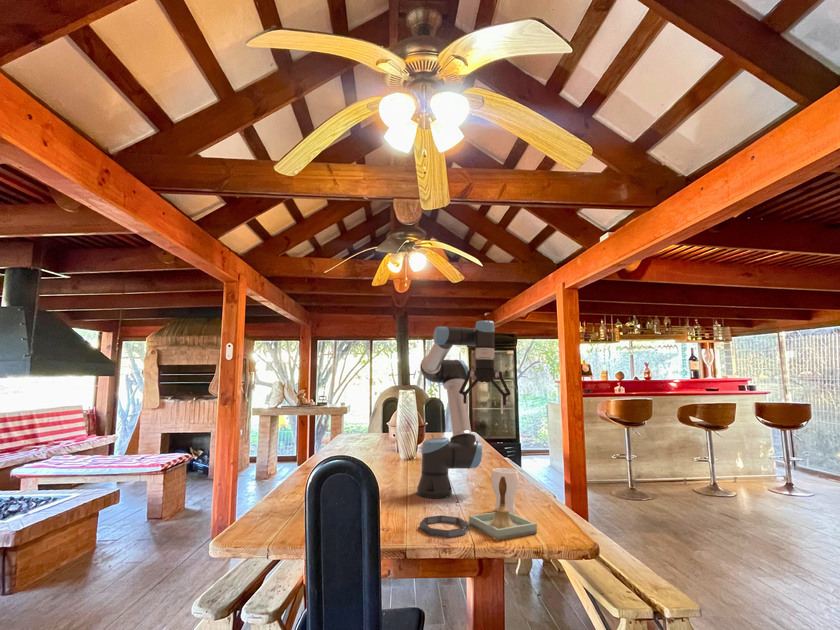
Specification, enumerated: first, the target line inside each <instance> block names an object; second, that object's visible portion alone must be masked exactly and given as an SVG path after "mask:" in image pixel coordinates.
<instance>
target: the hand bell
mask: <svg viewBox="0 0 840 630" xmlns="http://www.w3.org/2000/svg"><path fill="white" fill-rule="evenodd" d="M506 489H507V484H506V480H505V477H501V479H500V482H499V492H500V506H499V507H498V508H496V511H495V510H494V512H495V516H494V519H493V520H492V521H491V522H490V525H492V526H494V527H496V528H498V529H501V528H507V527H513V526H514V524H513V523H512V521H511V519H510V515H509V510H508V509H507V508H506V507H505V494H506Z"/></svg>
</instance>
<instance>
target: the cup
mask: <svg viewBox="0 0 840 630" xmlns="http://www.w3.org/2000/svg"><path fill="white" fill-rule="evenodd" d="M501 477H505V480H506V484H507V489H506V494H505V507H506V508H507V509H508V510H509V512H511V513H513V514H516V506H515V497H516V493H517V492H518V489H519V485H520V477H519V472H518V470H516V469H513V468H508V467H507V468H506V467H498V468H497V467H495V468H493V469H492V471H491V475H490V480H491V481H490V482H491V486H492V489H493V492H494V494H495V504H494V505H495V506H494V512H495V511H496V508H498V507H499V506H500V492H499V482H500V479H501Z"/></svg>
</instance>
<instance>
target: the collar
mask: <svg viewBox="0 0 840 630" xmlns="http://www.w3.org/2000/svg"><path fill="white" fill-rule="evenodd" d="M434 523H447V524H455V525H458V526H460V527H459V528H454V529H449V530H448V529H442V528H441V529H439V528H433V527H430V526H429V525H430V524H434ZM469 528H470V525H469V521H466V520H464V519H463V518H460V517H458V516H457V517H456V516H449V515H434V516H427V517H424V518H423V519H422V520H421V521H420V523H419V530H421V531H422V532H424V533H425V534H426V535H428V536H432V537H433V536H434V537H441V538H454V537H460V536H465V535H466V534H467V532H468V531H469Z"/></svg>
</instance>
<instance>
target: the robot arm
mask: <svg viewBox="0 0 840 630" xmlns="http://www.w3.org/2000/svg"><path fill="white" fill-rule="evenodd" d="M495 330H496V329H495V323H494V321H493V320H478V321H476V322H475V326H474V327H456V326H455V327H453V326H446V325H444V326H436V327H435V328H434V330H433V344H432V346H431V348H430V350H429V352H428V354H427V355H426V356H424V357H423V359H422V360H421V362H420V366H419V370H420V372H421V375H422V376H423V377H424V378H425V379H426V380H427V381H429V382H431V383H436V384H440V383H441V384H442V385H443V388H444V389H445V390H446V391H447V402H448V408H449V415H450V424H451V431H452V436H451V437H450V439H449V438H448V437H433V438H429V439H425V440H424V441H423V442H422V446H421V475H420V479H419V482H418V485H417V487H416V488H417V489H416V494H417V495H418V496H419V497H422V498H427V499H444V498H445V499H446V498H449V496H450V497H451V496H452V495H453V494H452V493H453V491H452V490H453V489H452V485H451V482H450V478H449V469H452V470H453V469H454V470H455V469H457V470H458V469H464V470H465V469H469V470H470V469H477V468H478V467H479V466H480V465H481V462H482V458H483V445H482V443H481V441H480V440H477V439H476V435H475V434H474V433H472V428H471V422H470V416H469V412H470V409H469V406H470V401H469V400H470V395H468V394H469V393H470V392H471V391H472V390H473V388H474V387H475V386H476V385H477V384H478V383H490V382H491V384H492V385H493V386H494V387H495V389H497V391H498V392H499V393H500V395H501V396H500V414H501V415H503V414H504V406H506V405H507V397H508V396H510V395H511V392H510V391H511V390H510V389H509V388H508V385H507V384H506V381H505V379H504V377H503V372H502V371H495V360H494V359H495ZM453 346H467V347H468V346H469V347H475V356H474V357H475V358H476V359H475V364H474V365H475V367H474V368H475V370H474V371H472V370H469V366H468V364H467V363H466V362H465V361H464V360H460V359H446V356H447V355H448V353H449V352H450V350H451V348H452V347H453ZM473 376H475V379H474V381H473V382H471V384H470V385H469V386H468V387H467V389H466V386H467V385H468V383H469V380H470V378H471V377H473ZM495 376H497V378H499V380H500V382H501V385H502V386H503V388H504V390H505V392H504V390H503V389H502V388H501V386H499V384H498V383H497V382H496V381H495V379H494V377H495ZM465 389H466V390H465Z"/></svg>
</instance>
